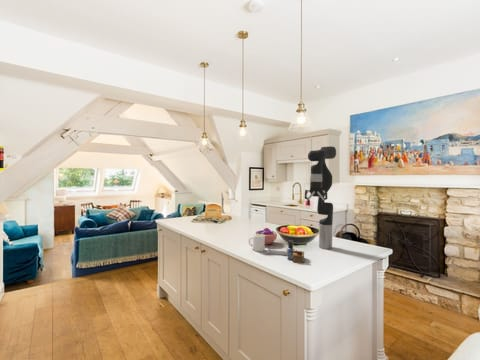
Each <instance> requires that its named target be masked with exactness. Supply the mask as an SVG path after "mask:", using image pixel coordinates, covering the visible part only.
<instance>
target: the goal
mask: <svg viewBox="0 0 480 360" xmlns="http://www.w3.org/2000/svg"><path fill="white" fill-rule="evenodd" d="M294 253H296V254H298V255H293V258H292V263H298V264H305V251H301V250H297V251H296V250H295V251H294Z"/></svg>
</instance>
